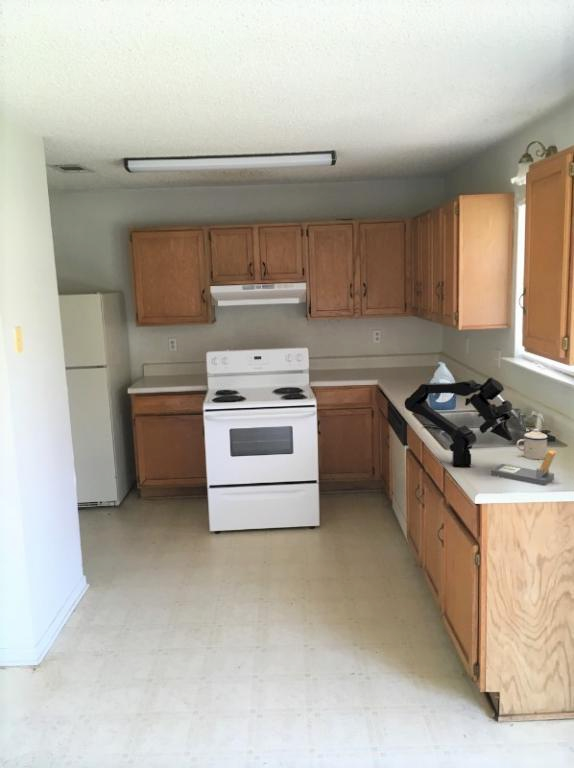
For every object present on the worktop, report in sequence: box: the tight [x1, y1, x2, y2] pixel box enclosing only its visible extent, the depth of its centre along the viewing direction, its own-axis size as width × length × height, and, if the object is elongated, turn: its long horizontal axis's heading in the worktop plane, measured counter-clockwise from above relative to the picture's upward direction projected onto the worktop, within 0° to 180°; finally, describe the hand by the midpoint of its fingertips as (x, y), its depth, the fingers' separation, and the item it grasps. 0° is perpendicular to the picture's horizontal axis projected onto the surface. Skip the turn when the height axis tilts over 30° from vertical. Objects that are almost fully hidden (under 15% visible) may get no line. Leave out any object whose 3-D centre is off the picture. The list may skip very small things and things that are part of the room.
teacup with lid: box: [515, 428, 549, 460], centre depth 257 cm, size 12×9×12 cm
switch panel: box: [490, 463, 555, 486], centre depth 232 cm, size 20×10×5 cm, turn 49°
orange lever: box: [539, 449, 557, 475], centre depth 226 cm, size 2×4×10 cm, turn 139°
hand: (511, 440), depth 234 cm, fingers closed
